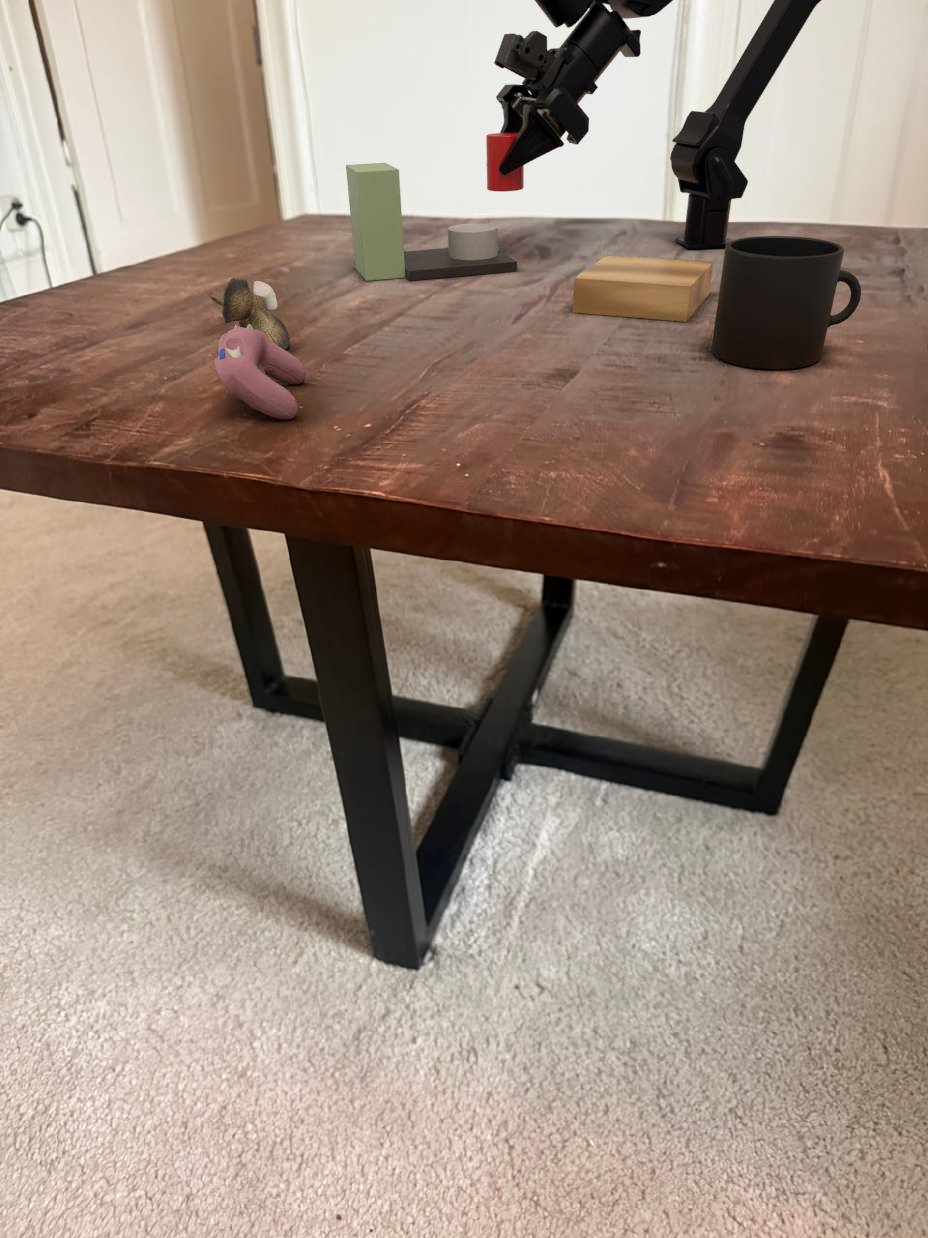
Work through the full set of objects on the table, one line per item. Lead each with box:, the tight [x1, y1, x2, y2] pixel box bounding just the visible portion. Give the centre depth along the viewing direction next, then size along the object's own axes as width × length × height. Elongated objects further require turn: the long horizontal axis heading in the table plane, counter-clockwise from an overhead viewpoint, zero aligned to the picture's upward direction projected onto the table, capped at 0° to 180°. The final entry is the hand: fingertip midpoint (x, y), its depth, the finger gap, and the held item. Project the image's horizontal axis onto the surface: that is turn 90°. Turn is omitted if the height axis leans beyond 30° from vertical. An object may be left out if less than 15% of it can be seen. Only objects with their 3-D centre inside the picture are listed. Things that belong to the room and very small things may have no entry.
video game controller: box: [214, 324, 307, 420], centre depth 67 cm, size 10×5×7 cm, turn 5°
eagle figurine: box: [205, 277, 291, 350], centre depth 81 cm, size 8×7×9 cm
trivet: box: [572, 254, 714, 323], centre depth 90 cm, size 12×12×4 cm
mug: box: [711, 235, 862, 370], centre depth 73 cm, size 9×12×9 cm
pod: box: [485, 132, 525, 192], centre depth 104 cm, size 5×5×6 cm
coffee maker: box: [345, 162, 518, 282], centre depth 106 cm, size 19×12×12 cm, turn 106°
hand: (494, 170), depth 105 cm, fingers closed on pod, 4 cm apart
